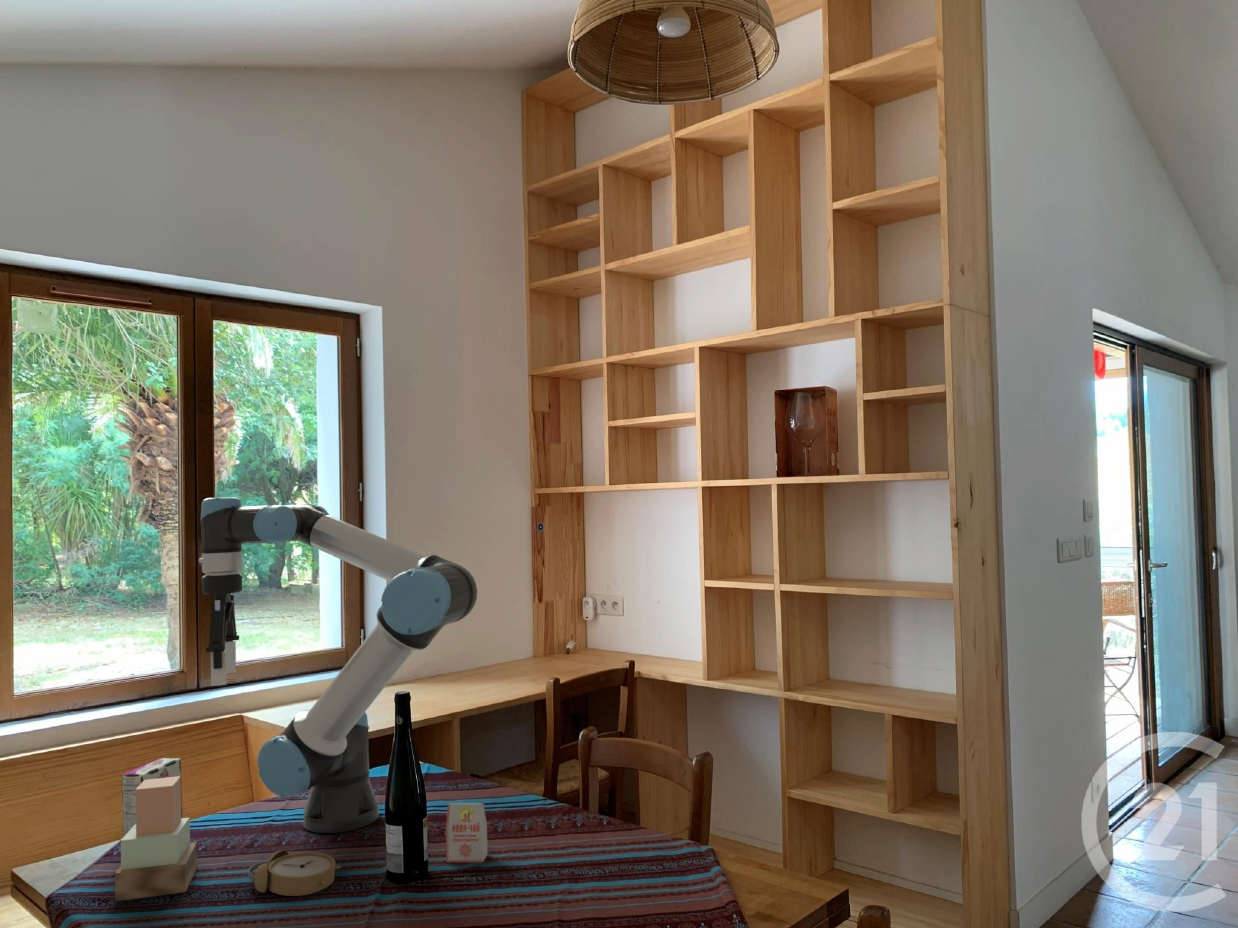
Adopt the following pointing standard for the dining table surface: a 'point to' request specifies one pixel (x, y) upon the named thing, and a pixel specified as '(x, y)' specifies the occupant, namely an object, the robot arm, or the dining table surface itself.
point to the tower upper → (155, 847)
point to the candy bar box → (137, 776)
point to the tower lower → (156, 878)
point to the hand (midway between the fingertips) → (224, 678)
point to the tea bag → (466, 832)
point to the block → (158, 806)
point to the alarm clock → (294, 873)
